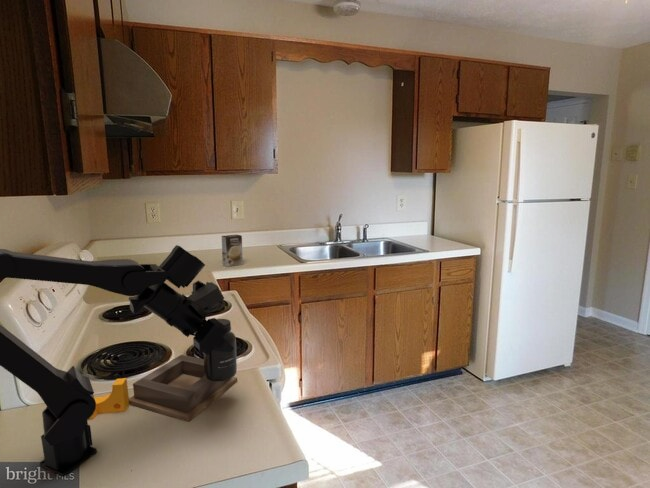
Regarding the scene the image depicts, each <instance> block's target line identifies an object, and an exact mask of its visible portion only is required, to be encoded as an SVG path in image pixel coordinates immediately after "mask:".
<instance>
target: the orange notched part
mask: <svg viewBox="0 0 650 488" xmlns="http://www.w3.org/2000/svg"><path fill="white" fill-rule="evenodd" d="M111 387H112V388H111V389H112V390H111V391H110V393H109V394H107V395H104V396H94V399H95V402H96V408H95V411H94V413H93V414H92V416H91V417H90V418H89V419H88V420H92V419H93V420H94V419H95V418H96V416H97V415H98V414H99V415H100V414H110V413H123V412H126V411H127V409H128V408H129V406H130V404H129V398H130V397H129V389H128V380H127V377H124V378H116V380H115V381H114V383H112V385H111Z"/></svg>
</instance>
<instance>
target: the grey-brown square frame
mask: <svg viewBox="0 0 650 488" xmlns="http://www.w3.org/2000/svg"><path fill="white" fill-rule="evenodd" d="M237 382H238V376H234V377H232V378H231V379H228V380H225V381H218V382H217V381H210V380H208V379H207V378H206V377H205V370H204V358H198V357H195V356H190V355H185V354H179V356H177V357H175V358H173V359H172V360H170V361H169V362H167V363H165V364H164V365H162V366H160V367H159V368H157V369H154V370H153V371H151V372H150V373H148V374H147V375H145V376H143V377H142V378H140V379H138V380H136V381H135V382H134V383H132V388H133V389H132V390H133V396H131V397H129V406H134V407H138V408H141V409H143V410H144V409H145V410H148V411H151V412H155V413H158V414H161V415H164V416H168V417H171V418H175V419H179V420H183V421H185V422H188V423H189V422H190V421H192V420H193V419H194V418H195V417H197V416H198V415H199V414H200V413H201V412H203V411H205V409H206V408H207V407H208V406H209V405H211V404H212V403H213V402H214V401H216V400H217V399H218V398H219V397H220V396H222V395H223V394H224V393H225V392H227V390H229V389H230V388H231V387H232V386H233V385H235V384H236V383H237Z"/></svg>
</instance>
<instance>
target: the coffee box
mask: <svg viewBox="0 0 650 488" xmlns="http://www.w3.org/2000/svg"><path fill="white" fill-rule="evenodd" d="M221 252H222V253H221V255H222V266H224V267H227V268H229V267H235V266H241V265H244V261H243V235H241V234H225V235H221Z"/></svg>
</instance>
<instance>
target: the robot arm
mask: <svg viewBox="0 0 650 488" xmlns="http://www.w3.org/2000/svg"><path fill="white" fill-rule="evenodd" d="M205 266H206V264H205V263H204V262H203V261H202V260H201V259H199V258H198V257H197V256H196V255H194V254H191V253H190V252H188V250H186V249H184V248H183V247H182V246H180V245H179V244H175V246H174V247H173V248H172V250H171V252H170V253H169V254H168V255H167V257H166V258H165V259H164V260H162V262H161V263H160V264H159V265H157V264H155V263H138V262H137V261H135V260H133V259H130V258H125V259H124V258H119V259H118V258H117V259H116V258H115V259H104V260H83V259H76V258H67V257H57V256H51V255H42V254H37V253H36V254H35V253H34V254H33V253H28V252H27V253H26V252H18V251H12V250H9V249H5V248H0V281H1V280H3V279H7V278H8V279H18V280H27V281H28V280H29V281H40V282H52V283H64V284H74V285H84V286H85V285H86V286H91V287H96V288H99V289H101V290H104V291H107V292H109V293H110V292H111V293H114V294H118V295H121V296H127V297H128V301H129V309H130V311H131V312H132V313H133V314H134V315H137V314H138V313H139V312H141V310H142V309H143V308H145V309H147V310H149V312H151V313H152V314H154V315H156V316H157V317H159V318H160V319H161V320H163V321H165V323H166V324H167V325H168V326H171V327H174V328H175V329H176V330H178V331H179V332H181V334H182V335H184V336H185V337H187V338H189V337H190V336H193V339H192V341H193V342H192V343H193V345H194V347H195V348H197V349H198V351H200V352H201V353H203V355H204V354H206V355H208V354H210V353H211V352H212V351H219V352H232V351H233V349H234V347H233V346H232V345H231V344H230V342H229V341H228V340H227V339H226V337H225V336H224V335H225V333H226V332H227V330H228V328H227V327H226V326H225V325H223V324H222V323H221V322H219V321H218V320H217V319H218V318H215V317H211V318H209V319H207V318H206V317H207V316H208V315H209V312H208V311H207V310H210V308H212V307H214V306H215V305H216V304H218V303H221V302H222V301H224V299H225V297H224V294H223V293H222V291H221V289H220V288H219V286H218V285H217V284H215V283H214V282H208V281H206V283H203V282H202V281H200V280H196V281H195V282H193V280H195V278H196V277H197V276H198V275H199V273H200V272H201V271H202V270H203V269H204V267H205ZM166 281H167V282H169V283H171V284H172V285H174V286H175V287H176V288H177V289H180V288H181V287H182V288H183V289H185V288H188V287H189V286H190V284H192V291H191V292H190V293H191V294H190V295H188V296H186V295H185V294H184V293H182V294H181V293H179V292H178V291H177V290H175V289H174V288H173V287H171V286H170V285H169V284H167V283H166ZM192 282H193V283H192ZM0 367H2V368H3V369H4V370H6V371H7V372H9V373H10V374H11V375H12V376H14V377H15V378H17V379H18V380H19V381H21V382H22V383H24V384H25V385H26V386H28V387H29V388H30V389H31V390H33V391H35V392H36V393H37V394H38V395H39V397H40V398H41V400H42V402H43V403H44V404H45V406H46V407H45V409H43V411H42V414H41V416H42V426H43V434H42V435H40V440H41V445H42V453H43V458H44V459H43V460H41V461H40V462H39V466H40V467H41V468H43V469H46V470H47V471H48V470H49V471H50V472H53V473H56V474H57V475H60V476H66V475H68V474H69V473H70V472H71V471H73V470H74V469H76V468H77V467H78V466H80V465H81V464H82V463H84V462H85V461H87V460H89V458H91V457H92V456H94V455H96V453H98V449H97V448H96V447H93V437H92V428H91V425H90V424H89V423H88V420H90V419H89V418H90V417H91V416H92V414H93V413H94V411H95V408H96V402H95V399H94V397H95V396H94V394H95V392H94V391H95V390H94V388H93V385H92V382H91V379H90V377H89V376H85V375H84V374H82V373H81V372H79V370H78V369H77V368H76V366H74V365H72V366H71V367H70V368H69V369H68V370H67V371H65V370H63V369H59V368H56V367H55V366H53V365H52V364H51V363H50V362H49V361H47V360H46V359H45V358H43V357H42V356H41V355H40V354H38V352H36V351H35V350H33V348H31V347H29V345H27V344H26V343H24V342H23V340H21V339H20V338H19V337H17V336H15V335H14V334H13V333H12V332H11V331H9V330H8V329H7V328H5V327H4V326H3V325H2V324H0Z"/></svg>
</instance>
